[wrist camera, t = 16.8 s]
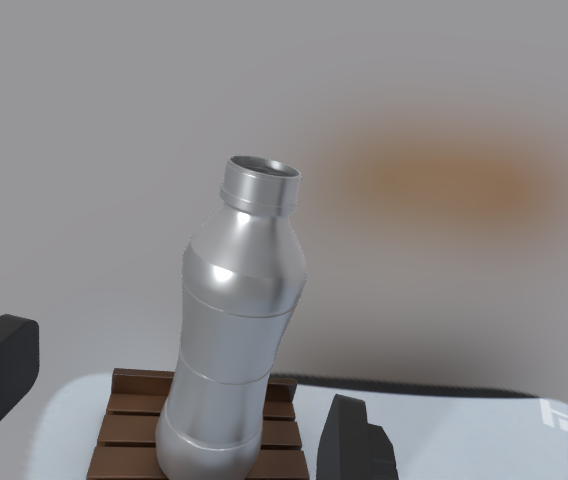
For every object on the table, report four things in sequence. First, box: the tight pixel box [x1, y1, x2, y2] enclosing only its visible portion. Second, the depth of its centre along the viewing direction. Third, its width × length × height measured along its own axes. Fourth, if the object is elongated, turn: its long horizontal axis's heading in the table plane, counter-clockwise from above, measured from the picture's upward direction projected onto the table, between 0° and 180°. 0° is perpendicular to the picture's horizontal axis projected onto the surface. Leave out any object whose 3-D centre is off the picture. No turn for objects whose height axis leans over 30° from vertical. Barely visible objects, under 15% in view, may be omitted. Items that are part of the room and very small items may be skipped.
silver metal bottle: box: [155, 155, 306, 480], centre depth 23 cm, size 6×7×20 cm
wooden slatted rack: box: [86, 368, 310, 480], centre depth 27 cm, size 14×14×4 cm
